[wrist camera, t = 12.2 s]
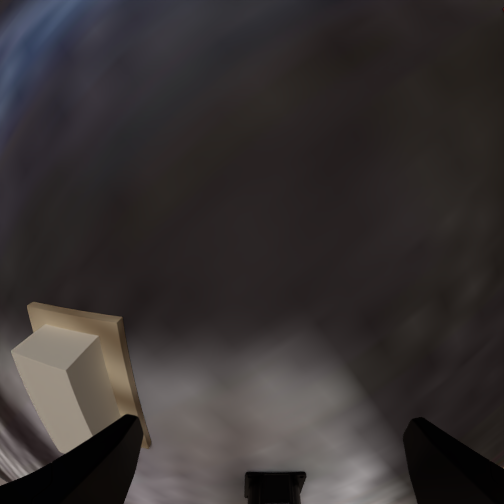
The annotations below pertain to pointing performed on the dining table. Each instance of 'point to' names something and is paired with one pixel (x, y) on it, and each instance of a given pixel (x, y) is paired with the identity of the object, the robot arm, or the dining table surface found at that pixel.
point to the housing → (67, 384)
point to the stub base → (112, 350)
